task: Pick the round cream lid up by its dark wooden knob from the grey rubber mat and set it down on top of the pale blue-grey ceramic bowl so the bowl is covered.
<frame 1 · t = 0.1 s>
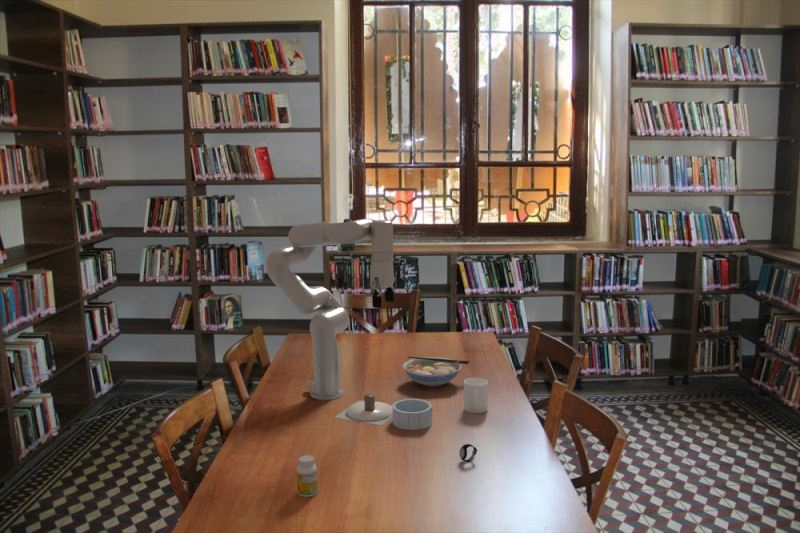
hand: (383, 304, 246), 37 cm above the table, tool pointing down, fingers open, 9 cm apart
ramen bowl: (432, 384, 274), on the table
mat: (369, 413, 244), on the table
lid: (369, 412, 244), resting on mat
mug: (475, 412, 244), on the table
smartwatch: (468, 462, 206), on the table
supplement bottle: (307, 493, 188), on the table
bowl: (412, 422, 235), on the table
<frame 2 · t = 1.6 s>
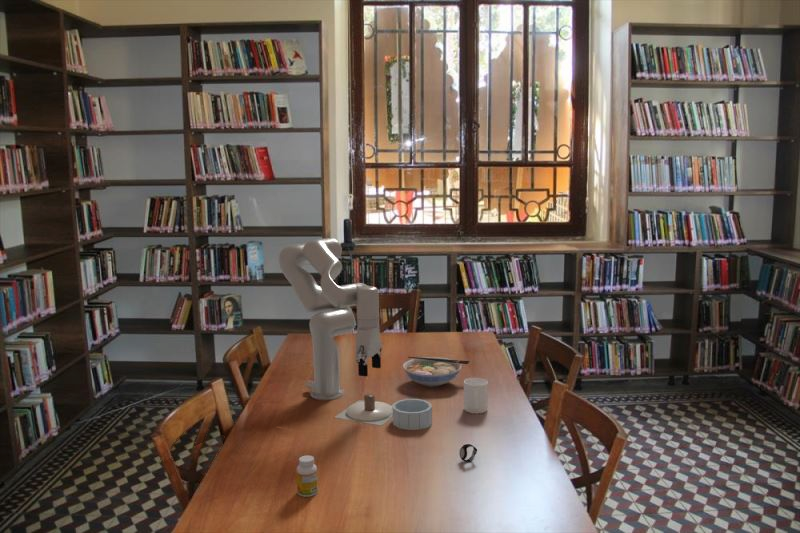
hand: (369, 371, 241), 15 cm above the table, tool pointing down, fingers open, 9 cm apart
nothing on the table moved.
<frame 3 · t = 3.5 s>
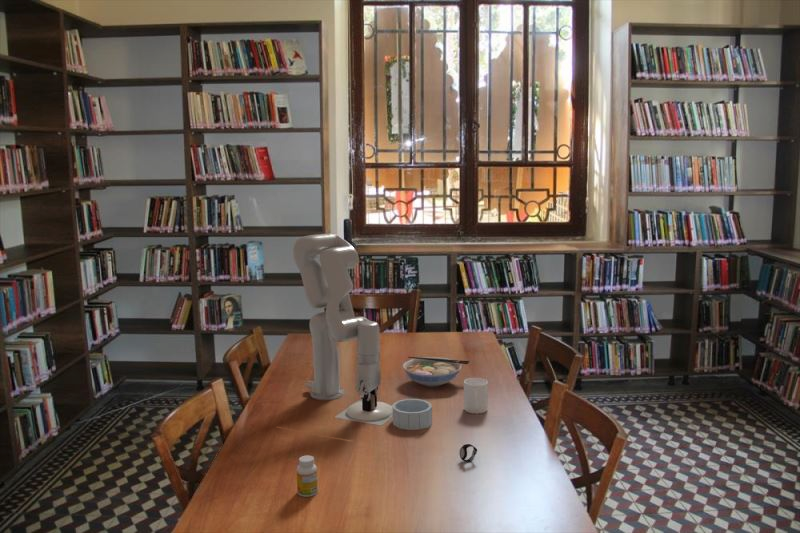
hand: (369, 408, 244), 2 cm above the table, tool pointing down, fingers closed on lid, 3 cm apart
lid: (369, 412, 244), resting on mat, touching gripper
everything else where it was.
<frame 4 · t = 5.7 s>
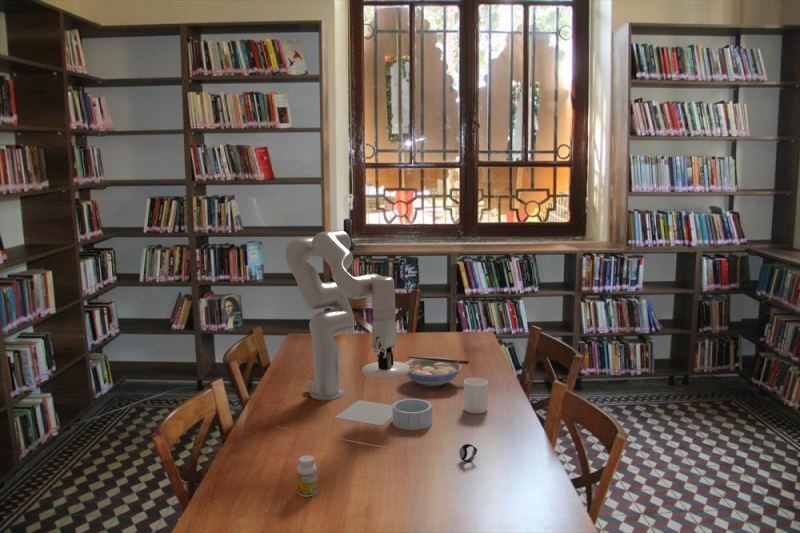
hand: (386, 366, 237), 18 cm above the table, tool pointing down, fingers closed on lid, 3 cm apart
lid: (386, 370, 237), point 17 cm above the table, touching gripper
everything else where it was.
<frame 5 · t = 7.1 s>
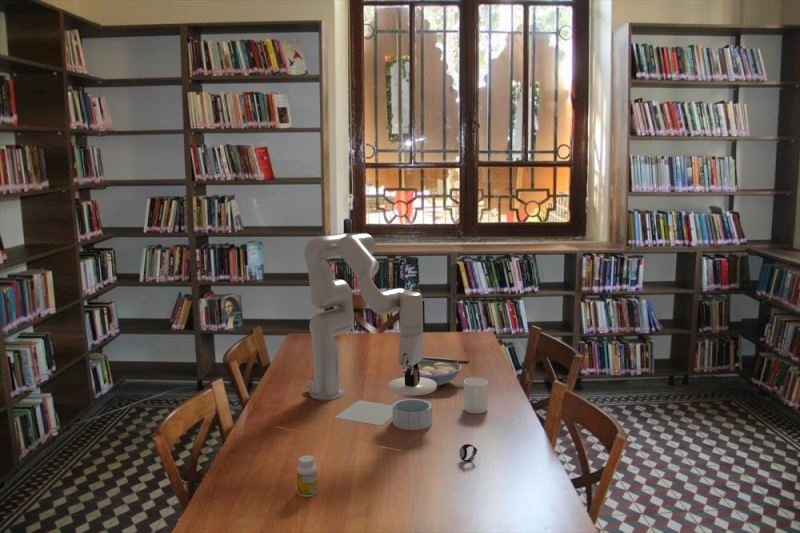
hand: (412, 383, 233), 14 cm above the table, tool pointing down, fingers closed on lid, 3 cm apart
lid: (412, 387, 233), point 12 cm above the table, touching gripper
everything else where it was.
when the fingers open (9 cm above the table, at t = 8.2 s): lid drops 1 cm, resting on bowl.
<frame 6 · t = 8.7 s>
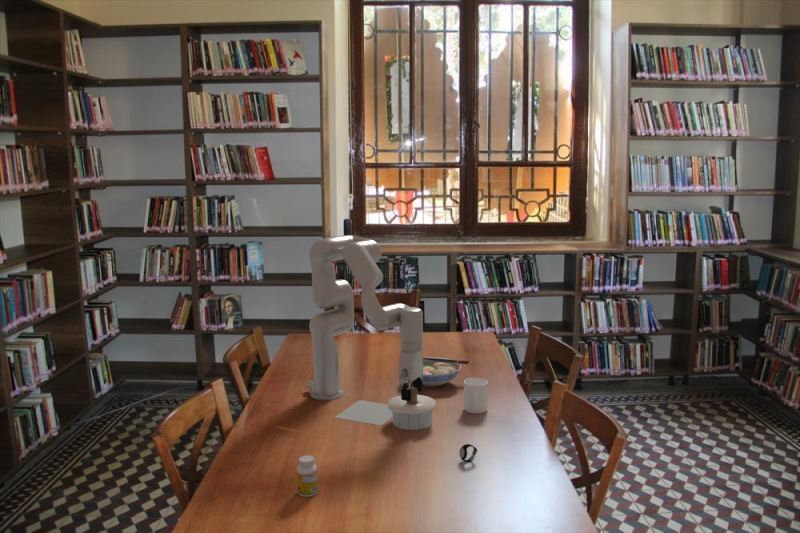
hand: (411, 395, 233), 10 cm above the table, tool pointing down, fingers open, 8 cm apart
lid: (411, 405, 234), point 6 cm above the table, touching bowl
everything else where it was.
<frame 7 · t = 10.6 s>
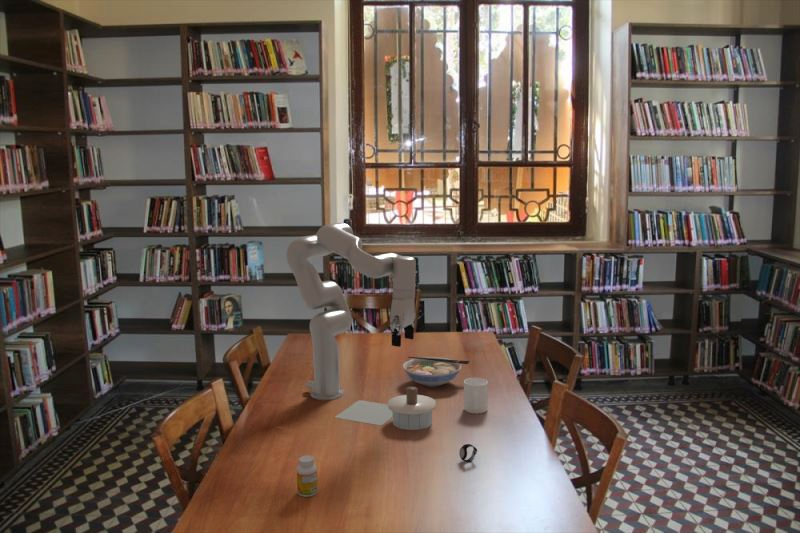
hand: (402, 342, 239), 25 cm above the table, tool pointing down, fingers open, 9 cm apart
nothing on the table moved.
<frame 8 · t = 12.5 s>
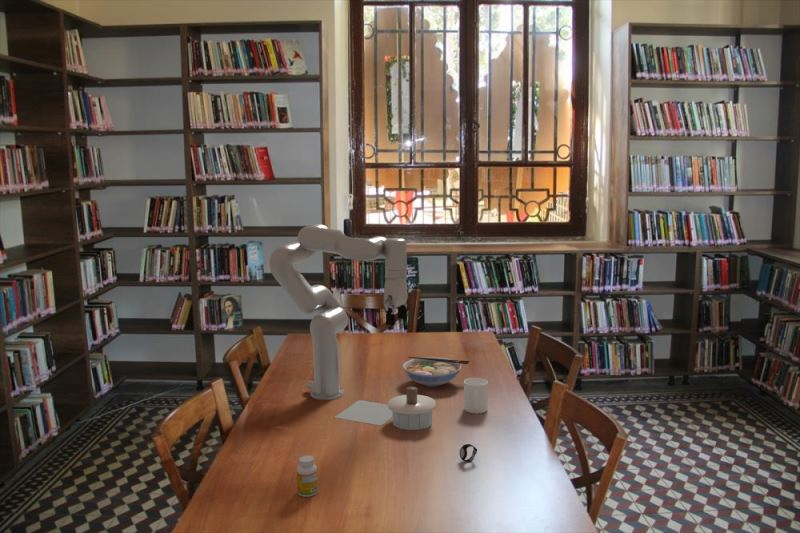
hand: (396, 321, 247), 30 cm above the table, tool pointing down, fingers open, 9 cm apart
nothing on the table moved.
at the end: lid 0.1 cm off-centre on the bowl, point 6.0 cm above the bowl's base; lid tilted 0°; lid touching bowl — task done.
